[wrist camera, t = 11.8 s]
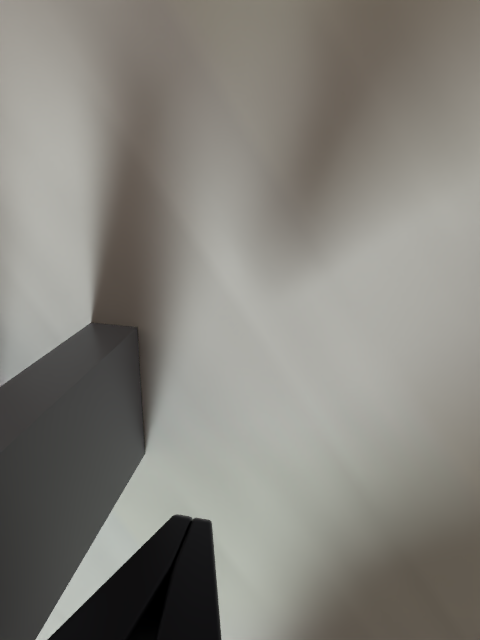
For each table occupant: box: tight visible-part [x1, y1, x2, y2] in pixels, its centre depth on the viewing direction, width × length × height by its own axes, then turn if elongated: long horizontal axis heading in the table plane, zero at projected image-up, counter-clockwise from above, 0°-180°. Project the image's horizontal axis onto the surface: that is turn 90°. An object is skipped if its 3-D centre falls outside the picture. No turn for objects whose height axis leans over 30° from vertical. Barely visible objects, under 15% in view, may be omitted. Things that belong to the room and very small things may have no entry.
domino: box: [0, 323, 145, 640], centre depth 11 cm, size 2×5×8 cm, turn 178°
